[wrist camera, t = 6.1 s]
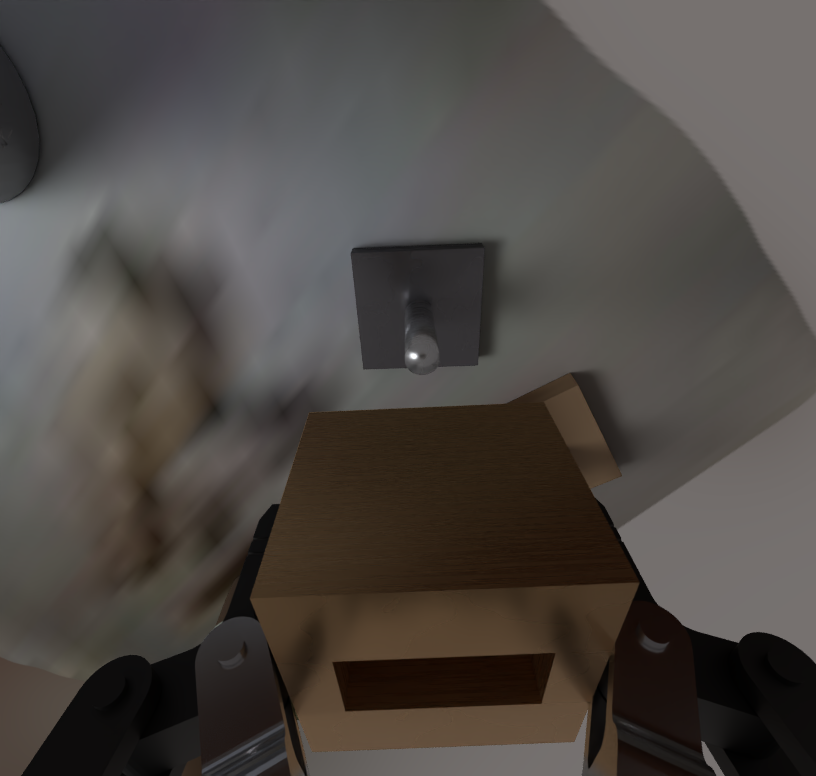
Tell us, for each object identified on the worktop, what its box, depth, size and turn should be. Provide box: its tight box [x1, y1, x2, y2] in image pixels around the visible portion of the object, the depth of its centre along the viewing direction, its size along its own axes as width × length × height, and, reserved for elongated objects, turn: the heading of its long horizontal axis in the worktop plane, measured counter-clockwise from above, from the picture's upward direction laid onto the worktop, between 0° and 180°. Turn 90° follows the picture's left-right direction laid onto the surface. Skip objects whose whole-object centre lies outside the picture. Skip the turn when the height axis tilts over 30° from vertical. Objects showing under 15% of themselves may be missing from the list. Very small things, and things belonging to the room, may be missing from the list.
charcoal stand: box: [351, 243, 485, 375], centre depth 22 cm, size 7×7×6 cm
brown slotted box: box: [250, 402, 640, 752], centre depth 10 cm, size 6×6×5 cm
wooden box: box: [507, 373, 622, 489], centre depth 27 cm, size 9×9×7 cm
